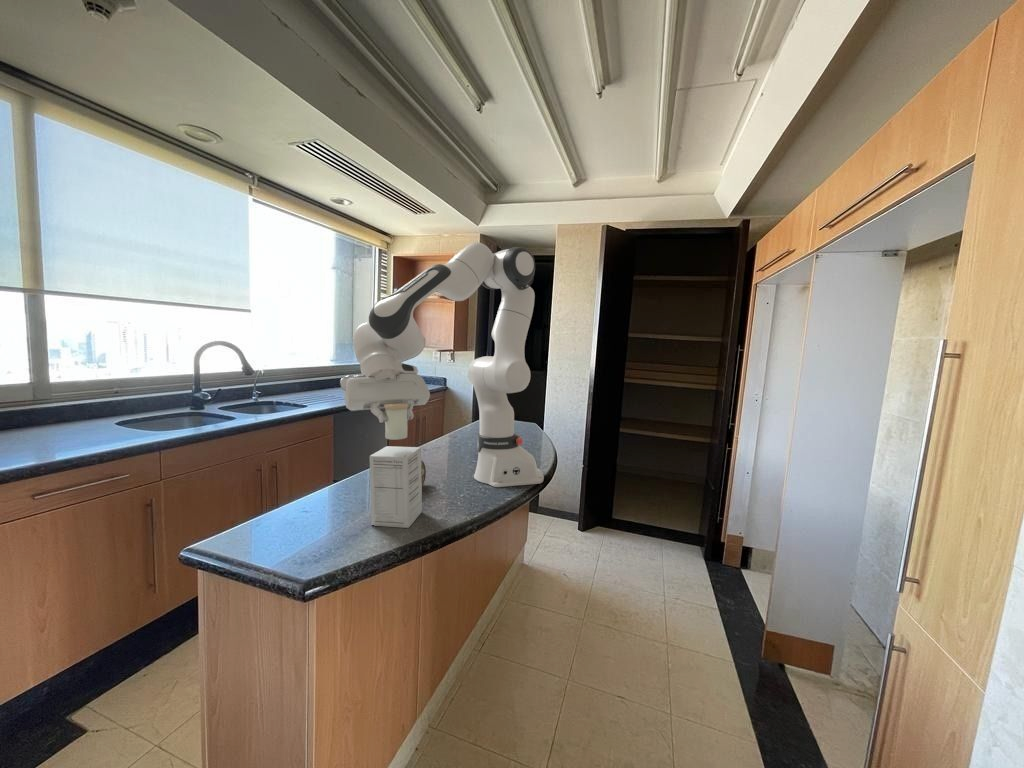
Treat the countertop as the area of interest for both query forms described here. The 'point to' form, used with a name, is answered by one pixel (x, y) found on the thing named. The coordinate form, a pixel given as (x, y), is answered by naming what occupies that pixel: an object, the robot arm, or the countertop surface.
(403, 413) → the jar
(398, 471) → the supplement box
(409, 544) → the countertop surface
